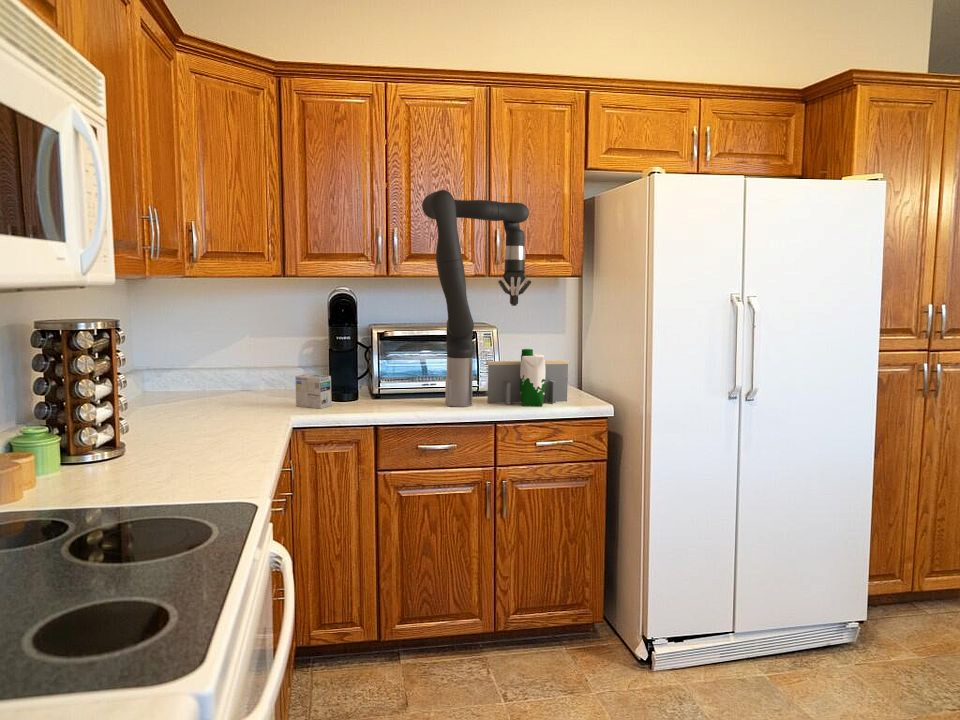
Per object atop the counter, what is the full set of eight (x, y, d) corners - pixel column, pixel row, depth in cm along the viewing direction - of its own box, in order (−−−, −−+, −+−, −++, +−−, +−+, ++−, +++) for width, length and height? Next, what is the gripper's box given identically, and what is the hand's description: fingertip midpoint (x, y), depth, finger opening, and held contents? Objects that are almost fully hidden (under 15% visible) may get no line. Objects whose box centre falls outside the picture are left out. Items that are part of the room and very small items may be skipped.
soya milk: (519, 402, 268) (520, 348, 266) (543, 402, 268) (545, 348, 265) (519, 406, 259) (521, 350, 257) (545, 407, 259) (546, 351, 257)
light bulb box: (332, 405, 256) (331, 375, 255) (321, 409, 250) (320, 378, 248) (306, 403, 260) (306, 373, 259) (295, 406, 254) (294, 375, 252)
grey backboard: (489, 405, 261) (490, 363, 259) (485, 401, 267) (486, 361, 265) (572, 403, 267) (573, 362, 265) (566, 399, 274) (567, 360, 272)
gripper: (529, 259, 274) (528, 305, 276) (495, 258, 271) (494, 305, 273) (534, 258, 267) (533, 306, 269) (499, 258, 264) (498, 306, 266)
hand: (513, 305), depth 271 cm, fingers closed
